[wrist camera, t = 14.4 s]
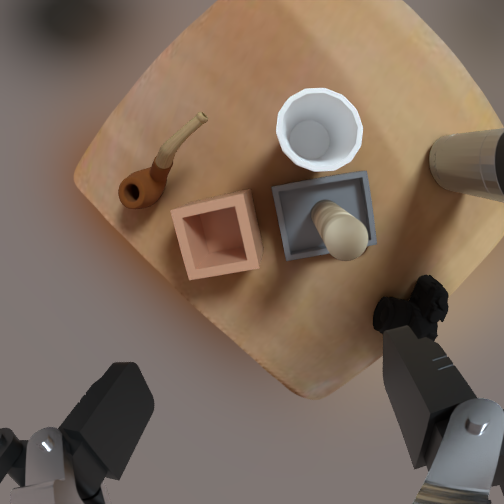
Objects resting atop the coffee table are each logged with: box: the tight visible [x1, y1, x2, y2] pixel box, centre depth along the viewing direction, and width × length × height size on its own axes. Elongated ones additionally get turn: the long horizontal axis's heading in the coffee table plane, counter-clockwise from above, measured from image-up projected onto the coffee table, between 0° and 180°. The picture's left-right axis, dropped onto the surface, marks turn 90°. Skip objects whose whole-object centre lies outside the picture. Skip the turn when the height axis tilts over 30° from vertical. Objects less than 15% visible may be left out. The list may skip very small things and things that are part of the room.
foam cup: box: [276, 88, 363, 172], centre depth 36 cm, size 10×9×13 cm
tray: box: [271, 171, 377, 261], centre depth 44 cm, size 14×11×2 cm
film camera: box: [373, 275, 448, 341], centre depth 44 cm, size 15×10×9 cm, turn 164°
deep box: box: [170, 189, 264, 280], centre depth 42 cm, size 10×10×9 cm
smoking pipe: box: [118, 112, 208, 209], centre depth 40 cm, size 7×18×6 cm
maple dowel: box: [311, 200, 368, 261], centre depth 36 cm, size 4×4×16 cm
